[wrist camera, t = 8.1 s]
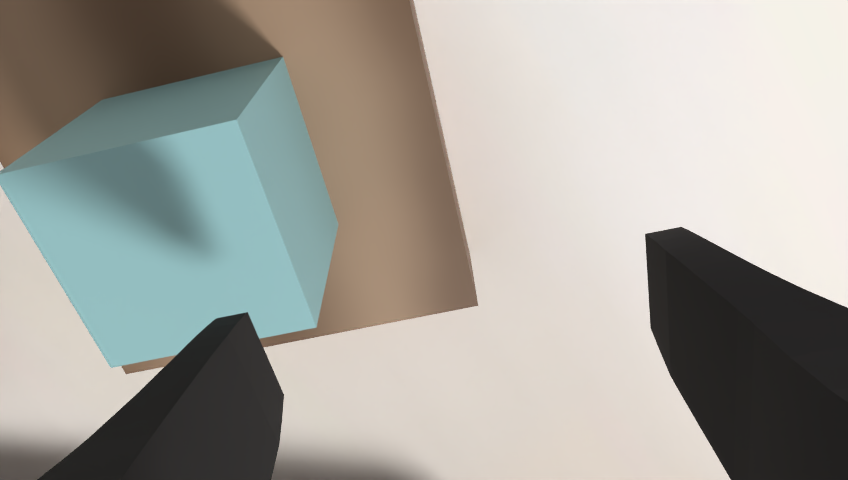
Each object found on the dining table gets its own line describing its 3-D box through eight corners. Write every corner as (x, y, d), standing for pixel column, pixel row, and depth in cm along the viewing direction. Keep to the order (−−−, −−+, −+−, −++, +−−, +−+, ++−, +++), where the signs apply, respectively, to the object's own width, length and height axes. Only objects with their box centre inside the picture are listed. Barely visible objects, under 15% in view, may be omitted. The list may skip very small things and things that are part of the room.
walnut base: (387, -116, 17) (383, -116, 15) (470, 257, 23) (477, 305, 20) (-20, -11, 18) (-92, 7, 16) (157, 320, 24) (126, 374, 21)
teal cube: (283, 56, 16) (236, 119, 12) (338, 224, 19) (316, 327, 14) (102, 99, 17) (-6, 175, 13) (178, 257, 19) (110, 367, 15)
